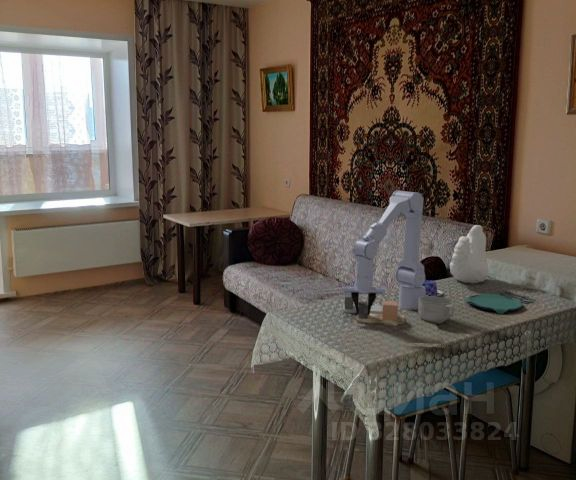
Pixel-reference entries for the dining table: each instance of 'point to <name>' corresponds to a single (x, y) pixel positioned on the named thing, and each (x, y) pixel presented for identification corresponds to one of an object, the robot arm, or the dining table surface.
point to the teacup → (435, 309)
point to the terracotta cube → (389, 310)
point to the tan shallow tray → (375, 316)
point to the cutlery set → (498, 302)
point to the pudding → (431, 288)
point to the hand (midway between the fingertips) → (362, 314)
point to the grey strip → (351, 308)
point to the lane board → (363, 322)
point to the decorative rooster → (470, 257)
